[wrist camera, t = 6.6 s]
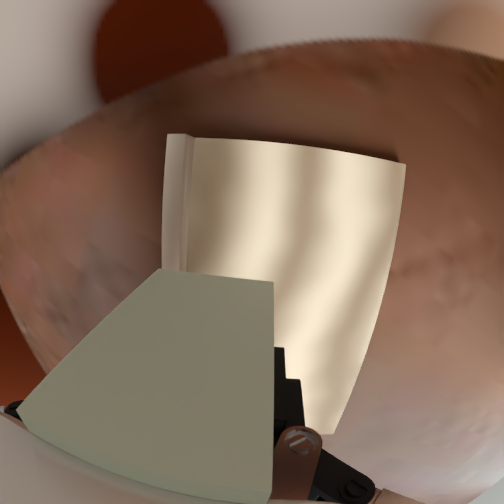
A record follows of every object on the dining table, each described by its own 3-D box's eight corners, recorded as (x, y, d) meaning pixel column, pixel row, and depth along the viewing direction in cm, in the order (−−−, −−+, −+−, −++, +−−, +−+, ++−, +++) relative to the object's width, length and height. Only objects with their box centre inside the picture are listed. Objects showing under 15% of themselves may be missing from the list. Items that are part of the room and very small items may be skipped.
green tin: (157, 268, 12) (14, 409, 3) (273, 281, 12) (271, 491, 3) (166, 386, 14) (105, 521, 5) (257, 400, 14) (242, 555, 5)
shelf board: (400, 164, 18) (418, 164, 15) (331, 427, 25) (335, 448, 22) (179, 139, 19) (164, 133, 16) (181, 412, 26) (173, 432, 23)
